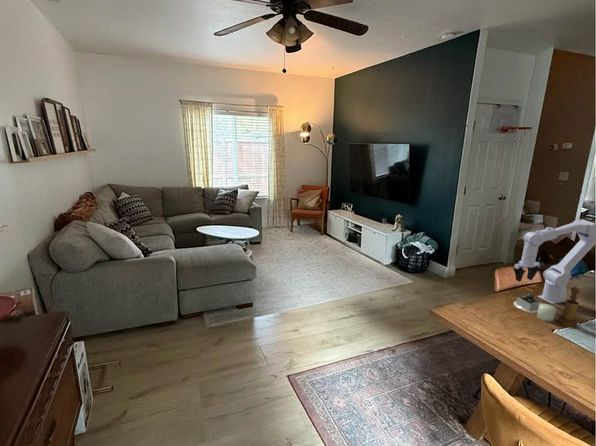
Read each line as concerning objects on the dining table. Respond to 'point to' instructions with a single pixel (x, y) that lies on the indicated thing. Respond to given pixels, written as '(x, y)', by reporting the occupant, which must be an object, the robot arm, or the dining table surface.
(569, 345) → the dining table surface
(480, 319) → the dining table surface
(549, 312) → the pale green rounded block
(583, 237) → the robot arm
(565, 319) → the mortar and pestle
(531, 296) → the plunger
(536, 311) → the trivet
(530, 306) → the grey faceted box
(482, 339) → the dining table surface
